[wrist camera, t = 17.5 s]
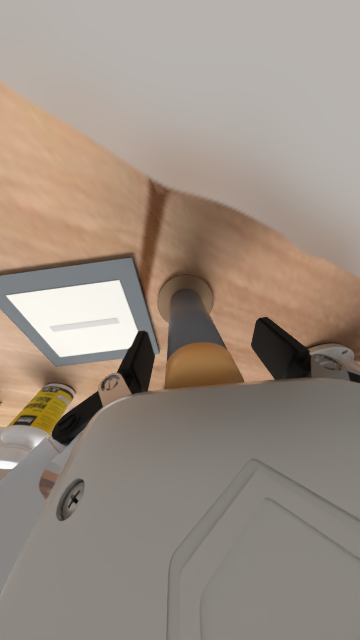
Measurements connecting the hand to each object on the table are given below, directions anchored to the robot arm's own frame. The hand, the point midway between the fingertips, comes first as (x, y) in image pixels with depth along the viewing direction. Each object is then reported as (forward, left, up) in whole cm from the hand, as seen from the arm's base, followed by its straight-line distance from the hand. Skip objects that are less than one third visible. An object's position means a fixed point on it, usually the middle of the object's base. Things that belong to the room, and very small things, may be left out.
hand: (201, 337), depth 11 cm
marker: (+1, -1, -6) cm, 6 cm away
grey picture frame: (+14, 0, -7) cm, 16 cm away
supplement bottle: (+27, +14, -7) cm, 31 cm away
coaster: (+1, -1, -7) cm, 7 cm away
